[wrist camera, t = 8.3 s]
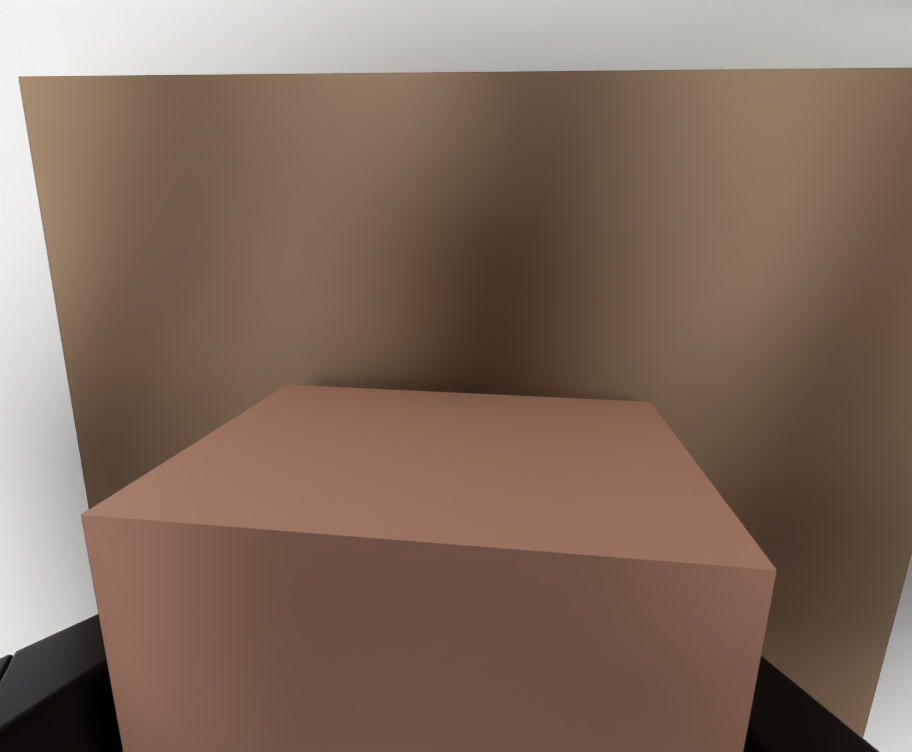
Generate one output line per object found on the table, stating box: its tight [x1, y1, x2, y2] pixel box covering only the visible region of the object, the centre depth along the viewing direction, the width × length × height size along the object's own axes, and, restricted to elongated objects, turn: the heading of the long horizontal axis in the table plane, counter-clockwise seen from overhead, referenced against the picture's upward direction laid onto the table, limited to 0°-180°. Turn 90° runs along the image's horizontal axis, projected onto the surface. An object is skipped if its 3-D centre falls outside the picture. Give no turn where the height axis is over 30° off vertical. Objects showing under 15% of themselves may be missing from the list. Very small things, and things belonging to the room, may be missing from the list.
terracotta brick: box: [81, 385, 777, 752], centre depth 8 cm, size 6×6×4 cm
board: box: [18, 68, 912, 738], centre depth 11 cm, size 16×16×1 cm
